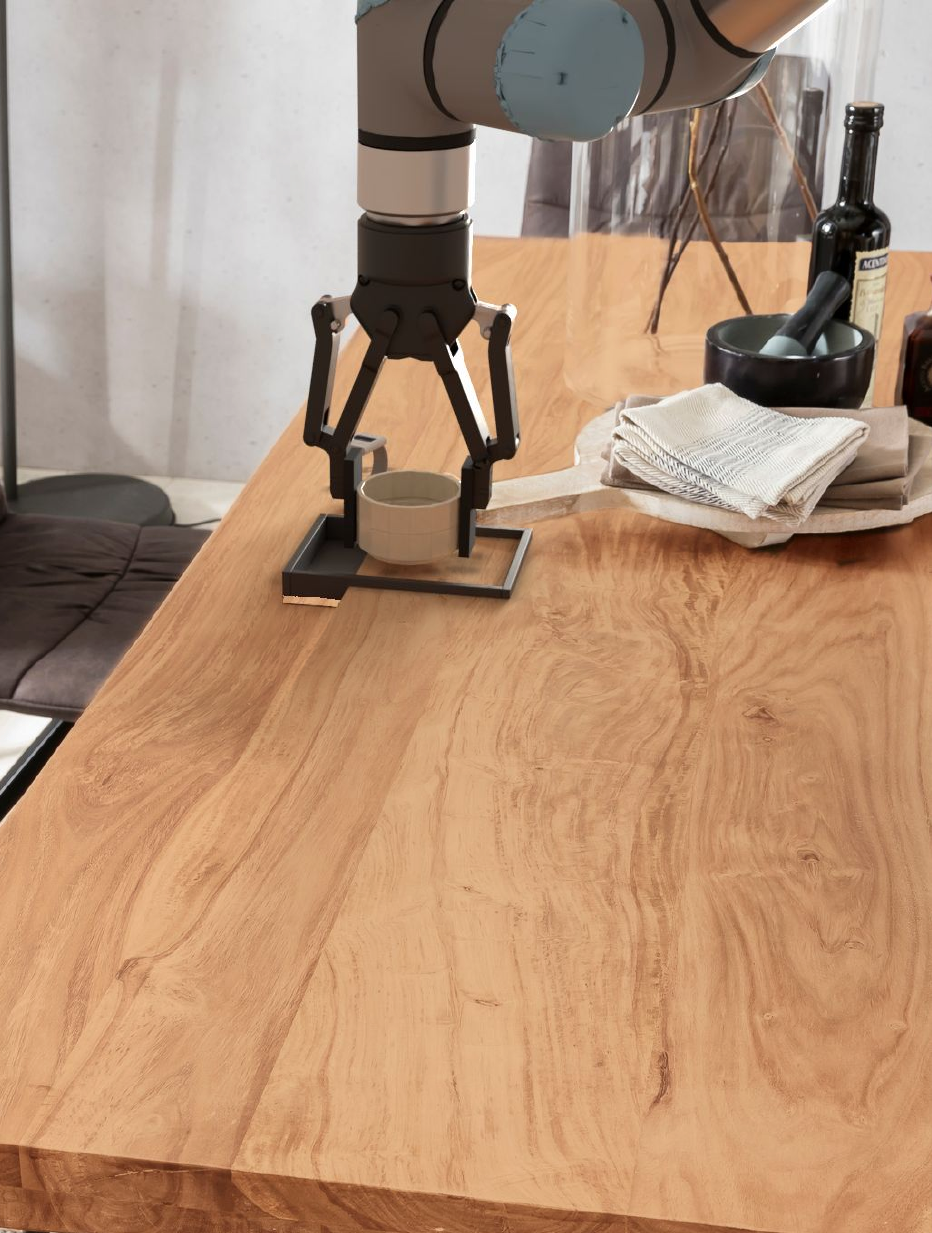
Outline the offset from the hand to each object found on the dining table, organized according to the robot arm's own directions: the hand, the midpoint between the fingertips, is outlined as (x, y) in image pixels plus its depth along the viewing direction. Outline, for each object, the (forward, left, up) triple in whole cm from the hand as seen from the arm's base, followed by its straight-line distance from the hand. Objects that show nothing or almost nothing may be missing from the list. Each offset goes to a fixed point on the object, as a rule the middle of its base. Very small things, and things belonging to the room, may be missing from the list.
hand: (409, 545), depth 124 cm
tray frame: (0, 0, -3) cm, 3 cm away
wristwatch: (+7, -15, -3) cm, 17 cm away
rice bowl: (0, 0, 0) cm, 0 cm away
